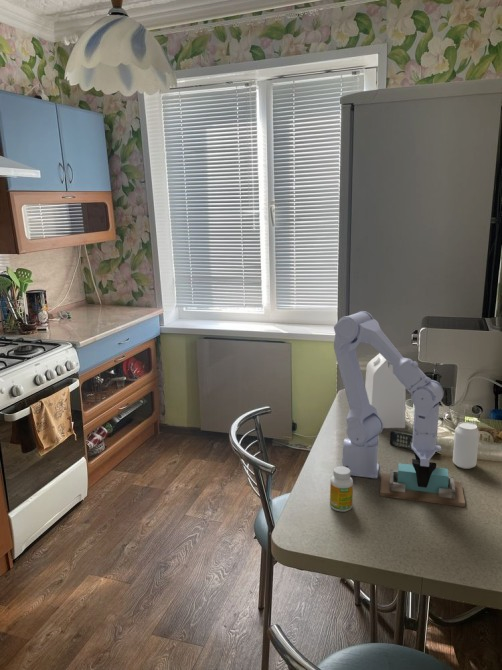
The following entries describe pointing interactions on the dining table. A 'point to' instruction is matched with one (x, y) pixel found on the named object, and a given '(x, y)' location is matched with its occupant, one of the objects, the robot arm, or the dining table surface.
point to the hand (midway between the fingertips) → (421, 478)
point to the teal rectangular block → (410, 480)
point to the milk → (385, 392)
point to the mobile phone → (401, 439)
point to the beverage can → (466, 445)
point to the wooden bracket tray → (444, 497)
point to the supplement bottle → (341, 489)
